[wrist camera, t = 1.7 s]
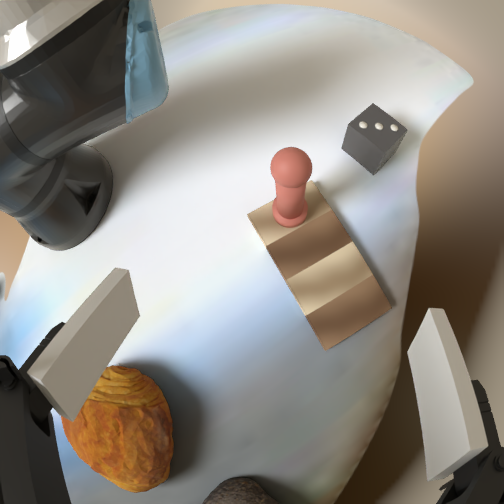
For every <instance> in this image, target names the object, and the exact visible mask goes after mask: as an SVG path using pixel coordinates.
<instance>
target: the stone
mask: <svg viewBox="0 0 504 504" xmlns="http://www.w3.org/2000/svg"><path fill="white" fill-rule="evenodd" d="M203 504H279V503H278V502H277V501H276V500H275V499H273V498H272V497H270V496H269V495H268V494H267V493H266V492H265V491H264V490H263V489H262V488H261V487H260V486H259V485H258V484H257V483H256V482H255V481H253V480H252V479H249V478H241V477H237V478H232V479H228V480H225V481H223V482H222V483H220V484H219V485H218V486H217V487H216V488H215V489H214V490H213V491H212V492H211V493H210V494H209V496H208V497H207V498H206V499H205V500H204V502H203Z"/></svg>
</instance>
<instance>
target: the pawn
mask: <svg viewBox="0 0 504 504" xmlns="http://www.w3.org/2000/svg"><path fill="white" fill-rule="evenodd" d="M270 168H271V174H272V176H273V178H274V180H275V183H276V198H275V199H274V201H273V205H272V211H273V217H274V219H275V221H276V222H277V223H278V224H279V225H281V226H283V227H286V228H294V227H297V226H299V225H301V224H302V223H303V222H304V221H305V219H306V216H307V211H308V205H307V202H306V200H305V198H304V197H305V190H306V183H307V181H308V180H309V178H310V176H311V173H312V163H311V160H310V158H309V156H308V155H307V154H306V153H305V152H304V151H302V150H301V149H298V148H294V147H288V148H284V149H281V150H280V151H278V152H277V153H276V154H275V155H274V157H273V158H272V161H271V167H270Z"/></svg>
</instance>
